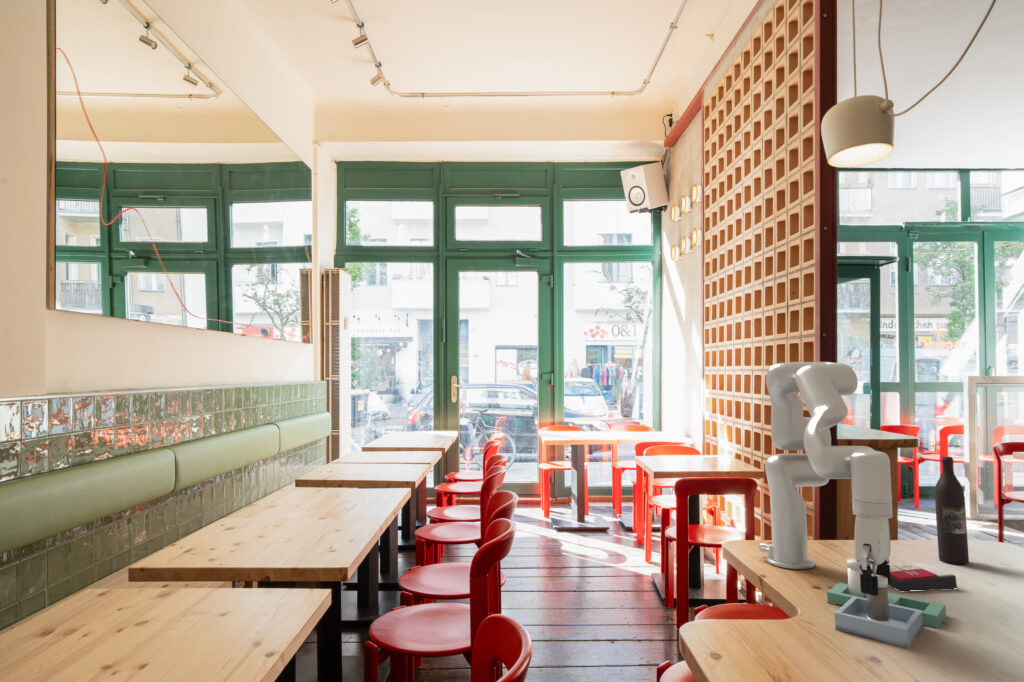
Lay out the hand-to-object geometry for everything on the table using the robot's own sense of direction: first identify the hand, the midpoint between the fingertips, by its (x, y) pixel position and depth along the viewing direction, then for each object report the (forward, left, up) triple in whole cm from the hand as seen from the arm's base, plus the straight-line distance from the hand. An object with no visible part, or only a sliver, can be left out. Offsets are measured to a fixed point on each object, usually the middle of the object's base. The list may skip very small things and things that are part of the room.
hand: (876, 587), depth 130 cm
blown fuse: (0, 0, -8) cm, 8 cm away
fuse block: (-2, +13, -8) cm, 15 cm away
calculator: (-1, +37, -9) cm, 38 cm away
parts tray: (0, 0, -8) cm, 8 cm away
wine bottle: (+3, +66, -9) cm, 66 cm away
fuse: (-7, +13, -8) cm, 17 cm away
